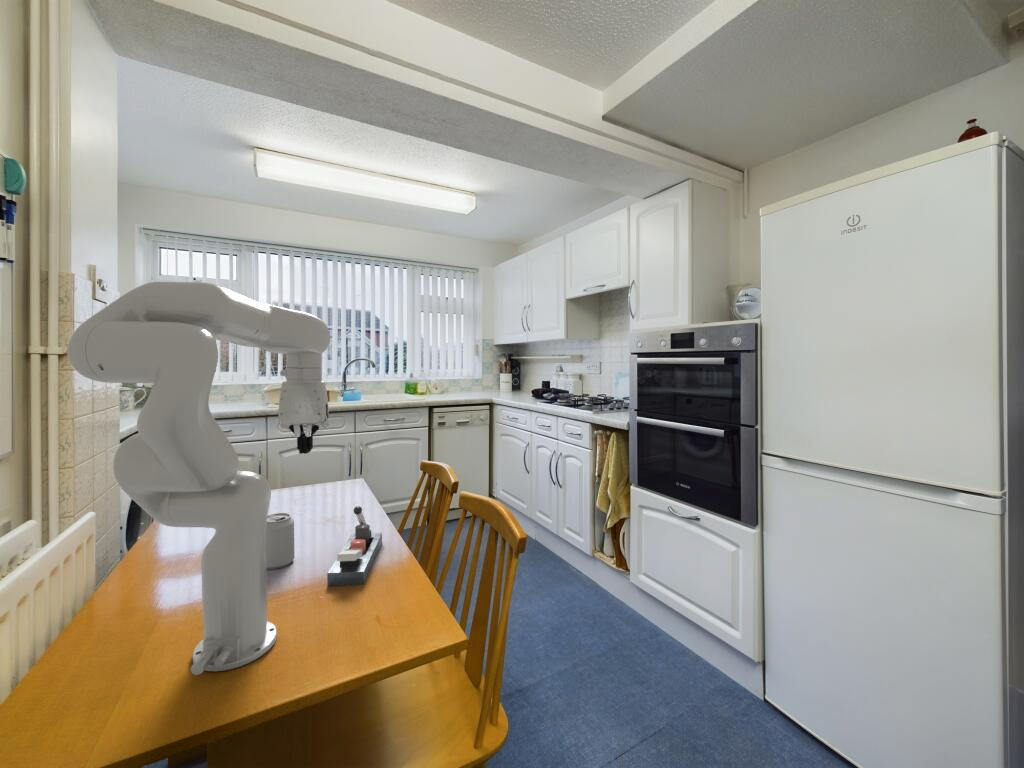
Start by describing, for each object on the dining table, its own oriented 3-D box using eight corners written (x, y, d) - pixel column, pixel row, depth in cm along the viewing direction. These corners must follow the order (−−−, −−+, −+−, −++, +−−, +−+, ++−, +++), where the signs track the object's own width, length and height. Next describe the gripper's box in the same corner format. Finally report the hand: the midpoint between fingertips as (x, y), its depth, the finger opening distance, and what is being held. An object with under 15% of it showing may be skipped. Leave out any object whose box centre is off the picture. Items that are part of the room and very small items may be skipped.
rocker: (355, 560, 99) (355, 553, 99) (336, 561, 98) (337, 553, 99) (362, 555, 106) (362, 548, 106) (345, 556, 105) (345, 548, 105)
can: (280, 572, 104) (279, 523, 103) (253, 568, 105) (252, 520, 105) (301, 558, 111) (300, 512, 110) (275, 555, 113) (274, 509, 112)
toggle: (368, 530, 117) (359, 506, 117) (360, 533, 117) (351, 509, 117) (370, 527, 120) (361, 503, 119) (362, 530, 119) (353, 506, 119)
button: (363, 562, 108) (363, 544, 108) (348, 562, 108) (348, 545, 108) (366, 555, 112) (366, 538, 112) (352, 556, 111) (352, 539, 111)
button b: (368, 546, 113) (368, 529, 113) (353, 546, 113) (353, 529, 112) (371, 540, 117) (370, 523, 116) (357, 540, 116) (357, 524, 116)
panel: (364, 584, 99) (363, 567, 99) (327, 585, 98) (327, 568, 98) (382, 543, 121) (382, 529, 120) (352, 544, 120) (352, 530, 120)
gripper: (263, 375, 98) (264, 456, 99) (332, 376, 99) (332, 455, 100) (278, 374, 105) (279, 449, 106) (341, 375, 107) (342, 449, 108)
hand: (305, 452), depth 103 cm, fingers closed
